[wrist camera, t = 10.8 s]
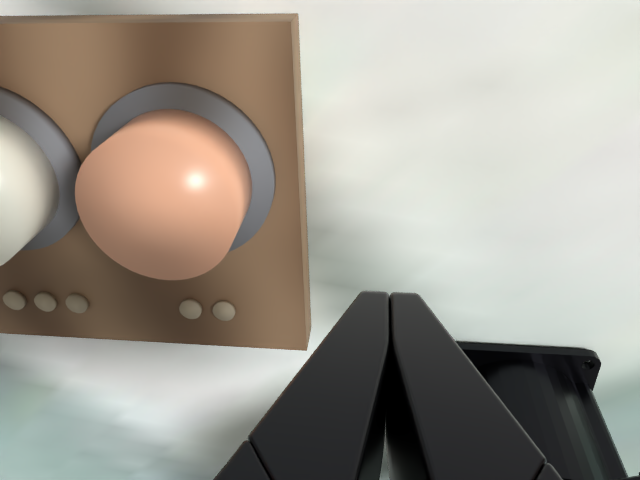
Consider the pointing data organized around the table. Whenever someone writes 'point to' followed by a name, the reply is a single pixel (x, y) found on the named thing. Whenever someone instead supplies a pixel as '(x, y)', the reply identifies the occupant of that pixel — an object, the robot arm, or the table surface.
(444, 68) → the table surface
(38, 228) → the cream button
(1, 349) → the table surface
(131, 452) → the table surface
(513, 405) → the robot arm
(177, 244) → the terracotta button
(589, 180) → the table surface
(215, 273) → the button board
